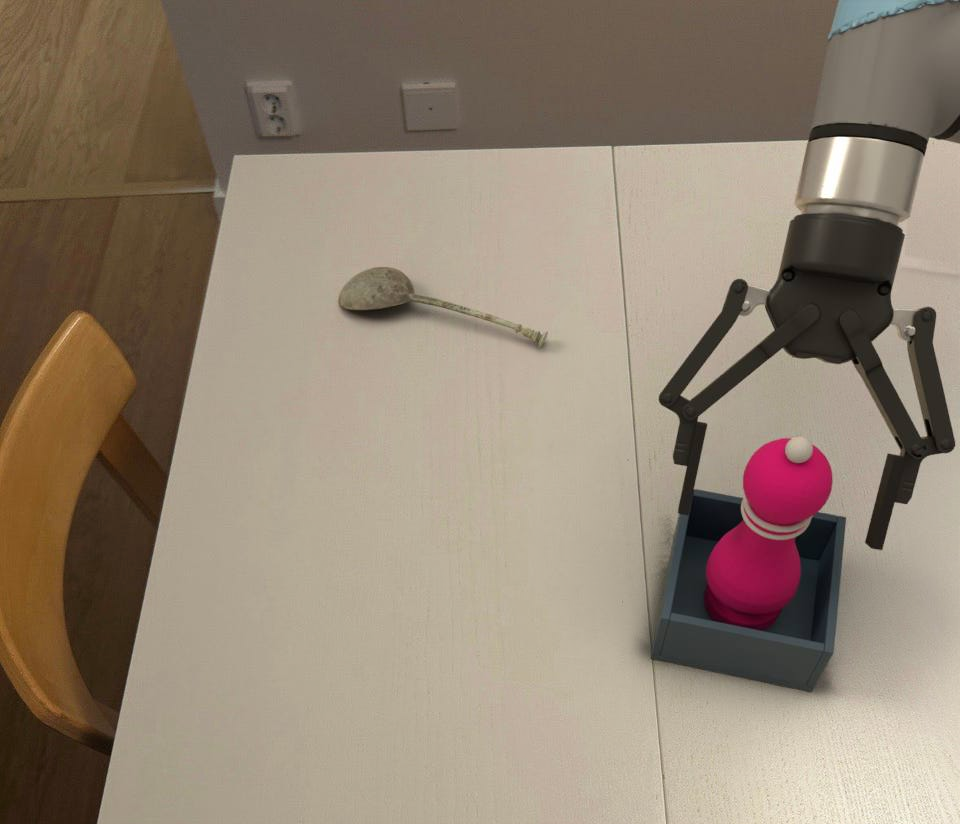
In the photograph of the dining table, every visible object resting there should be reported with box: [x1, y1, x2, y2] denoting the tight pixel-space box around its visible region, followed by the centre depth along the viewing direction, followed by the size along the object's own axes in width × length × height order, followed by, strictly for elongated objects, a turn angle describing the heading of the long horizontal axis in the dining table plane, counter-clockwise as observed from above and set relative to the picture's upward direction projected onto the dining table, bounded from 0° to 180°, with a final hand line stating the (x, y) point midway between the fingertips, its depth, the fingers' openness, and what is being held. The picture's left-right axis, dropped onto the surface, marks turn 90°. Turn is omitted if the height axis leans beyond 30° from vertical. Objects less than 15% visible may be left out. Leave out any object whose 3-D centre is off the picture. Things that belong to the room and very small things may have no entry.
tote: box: [649, 488, 847, 693], centre depth 85 cm, size 13×13×6 cm
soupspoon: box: [338, 266, 549, 349], centre depth 105 cm, size 22×3×7 cm
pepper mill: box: [704, 435, 834, 631], centre depth 79 cm, size 7×7×20 cm
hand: (776, 529), depth 77 cm, fingers open, 13 cm apart
